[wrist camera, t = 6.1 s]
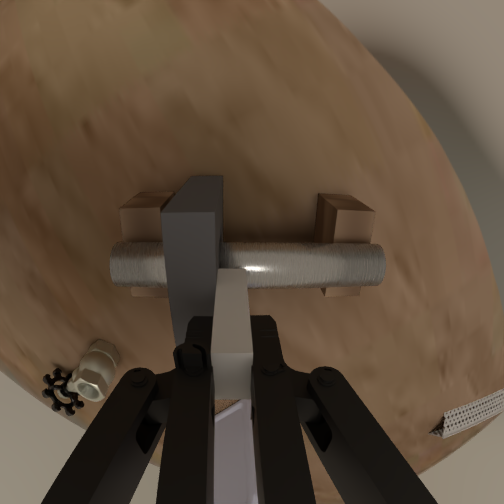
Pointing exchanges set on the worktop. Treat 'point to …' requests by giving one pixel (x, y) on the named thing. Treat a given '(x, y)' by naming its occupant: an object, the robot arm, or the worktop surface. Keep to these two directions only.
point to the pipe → (261, 264)
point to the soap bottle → (234, 456)
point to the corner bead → (471, 415)
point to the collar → (192, 249)
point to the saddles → (326, 231)
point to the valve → (84, 378)
